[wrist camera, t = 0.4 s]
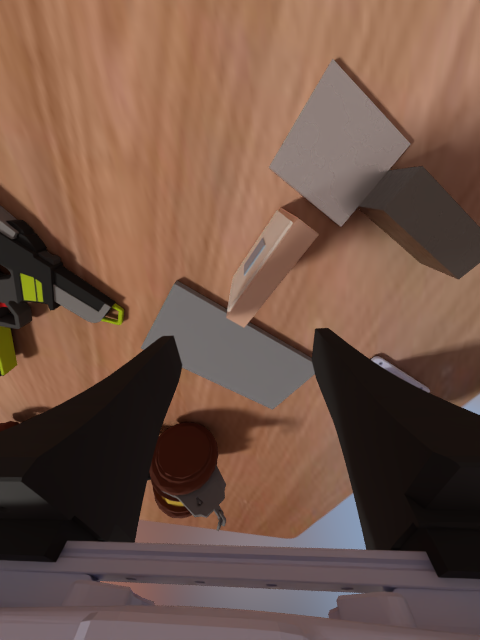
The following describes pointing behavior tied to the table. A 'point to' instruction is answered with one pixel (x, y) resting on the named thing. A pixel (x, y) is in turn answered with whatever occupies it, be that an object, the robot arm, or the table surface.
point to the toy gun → (39, 285)
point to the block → (267, 264)
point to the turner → (372, 176)
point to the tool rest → (229, 349)
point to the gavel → (184, 472)
